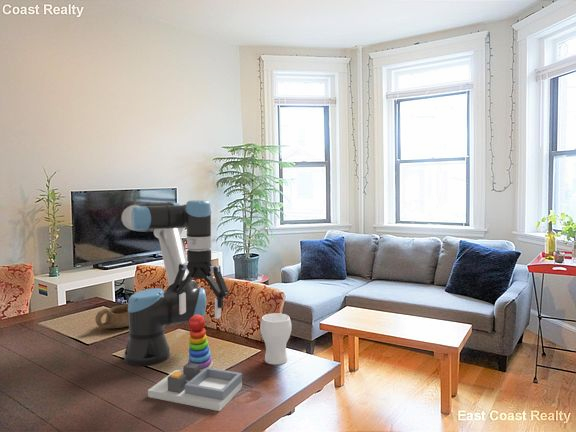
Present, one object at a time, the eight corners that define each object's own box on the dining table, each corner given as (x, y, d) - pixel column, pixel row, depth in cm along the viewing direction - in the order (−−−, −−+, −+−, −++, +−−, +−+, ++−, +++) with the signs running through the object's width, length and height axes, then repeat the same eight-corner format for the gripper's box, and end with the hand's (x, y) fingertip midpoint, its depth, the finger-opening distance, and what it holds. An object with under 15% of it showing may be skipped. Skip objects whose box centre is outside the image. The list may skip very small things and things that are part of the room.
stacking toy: (201, 378, 136) (195, 323, 132) (183, 372, 141) (176, 318, 136) (218, 365, 143) (212, 313, 139) (200, 360, 147) (194, 308, 143)
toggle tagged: (167, 390, 124) (167, 375, 124) (173, 385, 127) (173, 370, 127) (180, 393, 123) (179, 377, 123) (185, 388, 126) (185, 372, 125)
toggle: (183, 379, 131) (183, 366, 131) (188, 375, 134) (188, 362, 134) (195, 381, 130) (194, 368, 130) (200, 377, 133) (200, 364, 132)
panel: (148, 396, 125) (147, 388, 125) (175, 376, 138) (175, 368, 138) (219, 411, 117) (219, 402, 117) (242, 387, 130) (241, 379, 130)
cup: (287, 368, 144) (288, 323, 143) (256, 365, 146) (256, 321, 145) (293, 355, 154) (294, 313, 153) (264, 352, 157) (264, 311, 155)
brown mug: (114, 333, 171) (108, 309, 172) (92, 337, 178) (86, 313, 178) (149, 320, 187) (143, 297, 187) (127, 324, 194) (122, 302, 194)
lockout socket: (185, 393, 123) (184, 384, 123) (206, 375, 134) (206, 367, 134) (223, 400, 119) (223, 391, 119) (241, 381, 130) (241, 373, 130)
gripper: (159, 248, 139) (160, 314, 141) (228, 253, 131) (228, 323, 133) (172, 245, 146) (174, 308, 148) (239, 249, 138) (239, 315, 140)
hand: (200, 315), depth 140 cm, fingers open, 12 cm apart
